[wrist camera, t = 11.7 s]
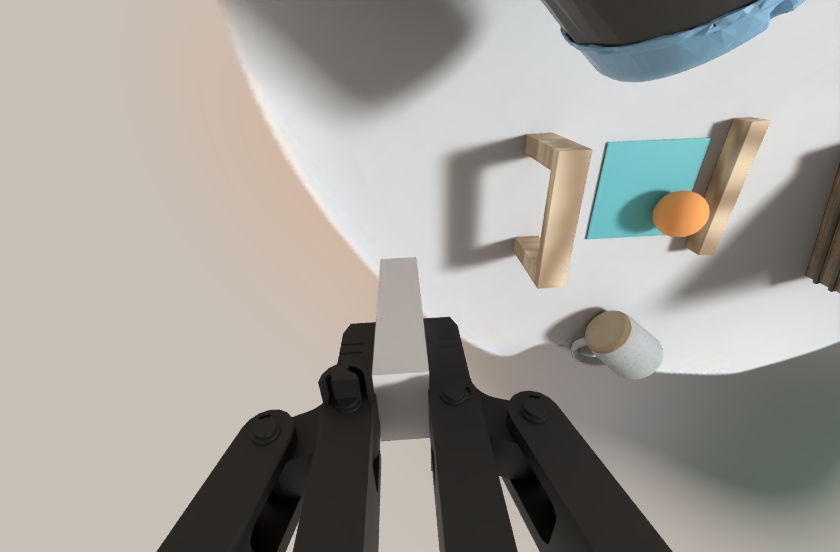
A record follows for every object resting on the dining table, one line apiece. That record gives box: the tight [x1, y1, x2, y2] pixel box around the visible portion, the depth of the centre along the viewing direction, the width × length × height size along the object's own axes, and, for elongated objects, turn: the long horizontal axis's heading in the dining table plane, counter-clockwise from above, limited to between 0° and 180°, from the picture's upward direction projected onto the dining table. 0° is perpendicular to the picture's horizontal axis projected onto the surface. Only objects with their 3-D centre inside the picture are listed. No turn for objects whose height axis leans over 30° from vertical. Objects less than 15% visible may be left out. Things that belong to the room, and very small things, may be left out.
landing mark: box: [586, 138, 711, 239], centre depth 44 cm, size 12×12×1 cm
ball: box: [653, 191, 709, 237], centre depth 43 cm, size 6×6×6 cm
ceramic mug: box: [571, 311, 663, 380], centre depth 52 cm, size 11×8×8 cm
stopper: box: [685, 118, 771, 255], centre depth 43 cm, size 16×2×2 cm, turn 2°
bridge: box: [514, 133, 592, 288], centre depth 40 cm, size 3×14×9 cm, turn 2°
